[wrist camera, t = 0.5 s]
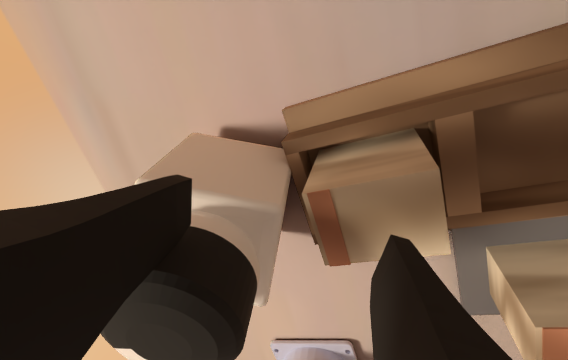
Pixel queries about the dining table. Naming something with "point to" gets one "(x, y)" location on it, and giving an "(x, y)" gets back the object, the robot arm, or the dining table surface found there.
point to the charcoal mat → (474, 255)
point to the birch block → (532, 295)
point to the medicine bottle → (209, 255)
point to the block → (376, 198)
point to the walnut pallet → (462, 127)
